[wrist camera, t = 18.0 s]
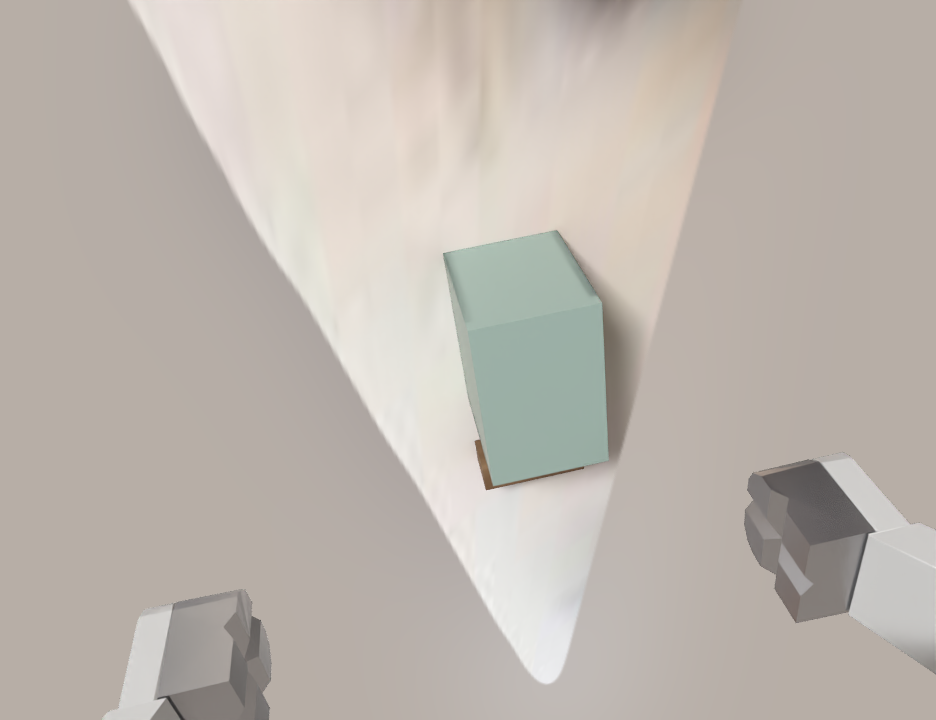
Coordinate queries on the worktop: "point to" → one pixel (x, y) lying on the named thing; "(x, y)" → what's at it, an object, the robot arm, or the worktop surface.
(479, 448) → the strip
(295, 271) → the worktop surface
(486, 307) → the sage green upright block
